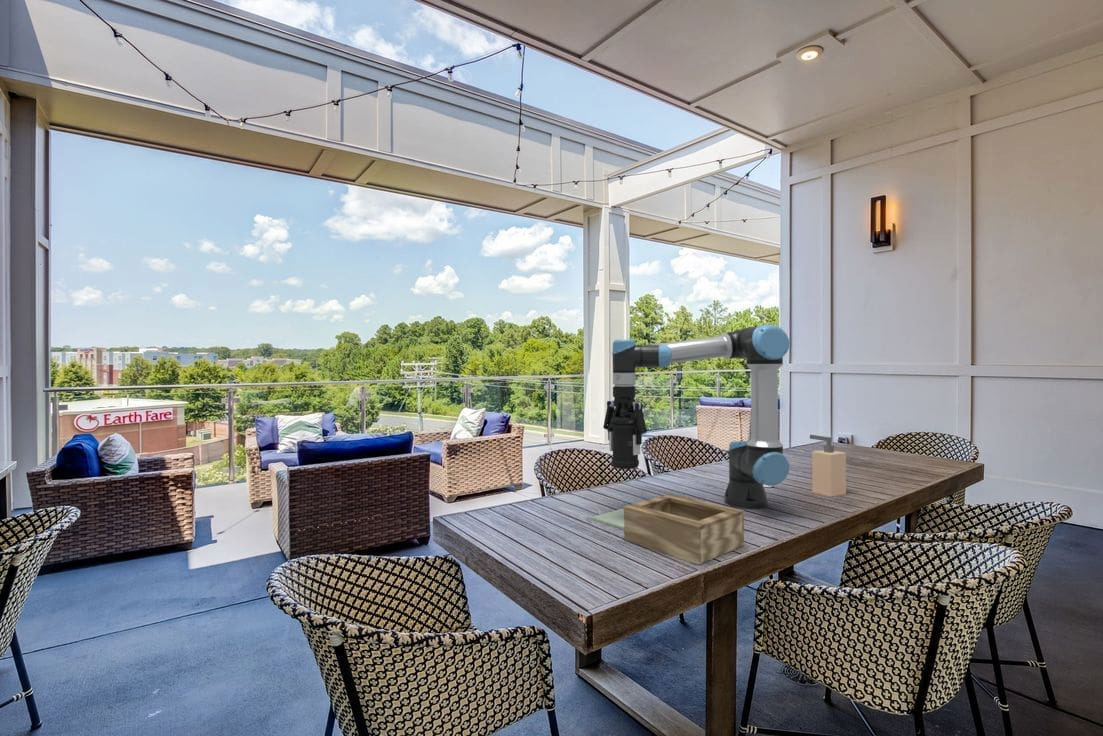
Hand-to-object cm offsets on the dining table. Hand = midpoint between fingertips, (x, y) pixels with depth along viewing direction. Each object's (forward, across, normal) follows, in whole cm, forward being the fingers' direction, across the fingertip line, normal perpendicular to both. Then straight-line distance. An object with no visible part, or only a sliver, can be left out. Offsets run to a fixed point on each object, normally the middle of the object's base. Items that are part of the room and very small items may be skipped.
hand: (624, 452), depth 179 cm
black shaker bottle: (+5, 0, 0) cm, 5 cm away
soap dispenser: (+23, +28, +86) cm, 93 cm away
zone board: (+23, 0, 0) cm, 23 cm away
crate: (+23, +26, -4) cm, 35 cm away
